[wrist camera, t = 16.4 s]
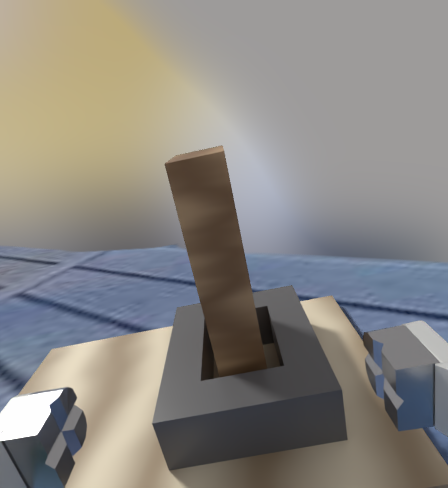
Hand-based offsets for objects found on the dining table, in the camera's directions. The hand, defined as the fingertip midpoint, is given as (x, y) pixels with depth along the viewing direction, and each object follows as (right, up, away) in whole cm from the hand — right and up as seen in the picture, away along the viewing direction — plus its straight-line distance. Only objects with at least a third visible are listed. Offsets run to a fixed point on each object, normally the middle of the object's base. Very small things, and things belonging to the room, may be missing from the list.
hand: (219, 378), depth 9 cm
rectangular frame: (+2, -6, +15) cm, 16 cm away
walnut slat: (+2, -6, +15) cm, 16 cm away
